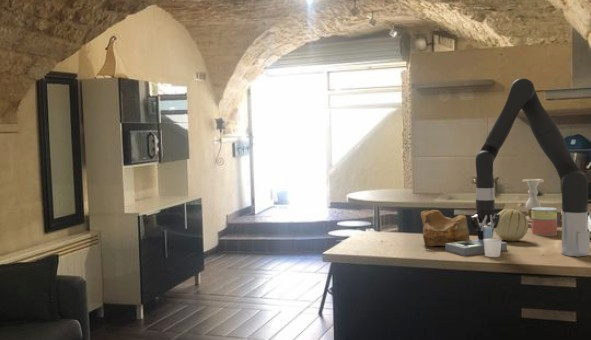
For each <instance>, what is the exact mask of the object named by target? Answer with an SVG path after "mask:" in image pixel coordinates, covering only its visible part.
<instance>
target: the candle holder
mask: <svg viewBox="0 0 591 340" xmlns="http://www.w3.org/2000/svg"><path fill="white" fill-rule="evenodd" d="M521 180H522V182H523V183H527V184H526V185H527V186H528V187H529V188H528V191H527V193H528V195H529V197H528V199H527V201H526V202H525V208H526V209H527V211H526V214H527V215H525V216H526V218H527V220H528V229H532V209H531V208H534V207H542V205H541V203H540V201H539V199H538V198H537V195H538V193H539V191H538V186H539V184H540V183H544V181H545V180H544V179H542V178H524V179H521Z"/></svg>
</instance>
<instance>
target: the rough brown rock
mask: <svg viewBox="0 0 591 340" xmlns="http://www.w3.org/2000/svg"><path fill="white" fill-rule="evenodd" d="M420 218H421V220H422V238H423V242H424V244H423V245H424V247H430V248H431V247H432V248H433V247H435V246H436V247H437V246H442V247H445V243H452V242H460V241H469V240H471V239H470V229H469V227H468V221H467V220H468V219H467V216H466V215H464V214H458V215H457V216H455V217H452V218H451V217H448V216H445V215H443V213H442V212H441V211H440V210H437V209H431V210H427V209H426V210H423V211H421V212H420Z"/></svg>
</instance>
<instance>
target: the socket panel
mask: <svg viewBox="0 0 591 340" xmlns="http://www.w3.org/2000/svg"><path fill="white" fill-rule="evenodd" d="M444 247H445V249H444V250H445V252H449V253H452V254H457V255H460V256H462V257H464V256H473V255H479V254H485V250H484V243H480V242H478V239H472V240H471V239H469V241H460V242H452V243H445V246H444ZM507 250H508V242H507V241H506V242H505V241H501V251H500V252H502V251H507Z"/></svg>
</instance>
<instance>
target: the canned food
mask: <svg viewBox="0 0 591 340" xmlns="http://www.w3.org/2000/svg"><path fill="white" fill-rule="evenodd" d="M531 209H532V228H531V235H536V236H541V237H542V236H544V237H547V236H548V237H550V236H552V237H553V236H557V235H558V231H557V230H558V227H557V226H558V216H557V215H558V209H557V208H555V207H549V206H546V207H545V206H541V207H534V208H531Z"/></svg>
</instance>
